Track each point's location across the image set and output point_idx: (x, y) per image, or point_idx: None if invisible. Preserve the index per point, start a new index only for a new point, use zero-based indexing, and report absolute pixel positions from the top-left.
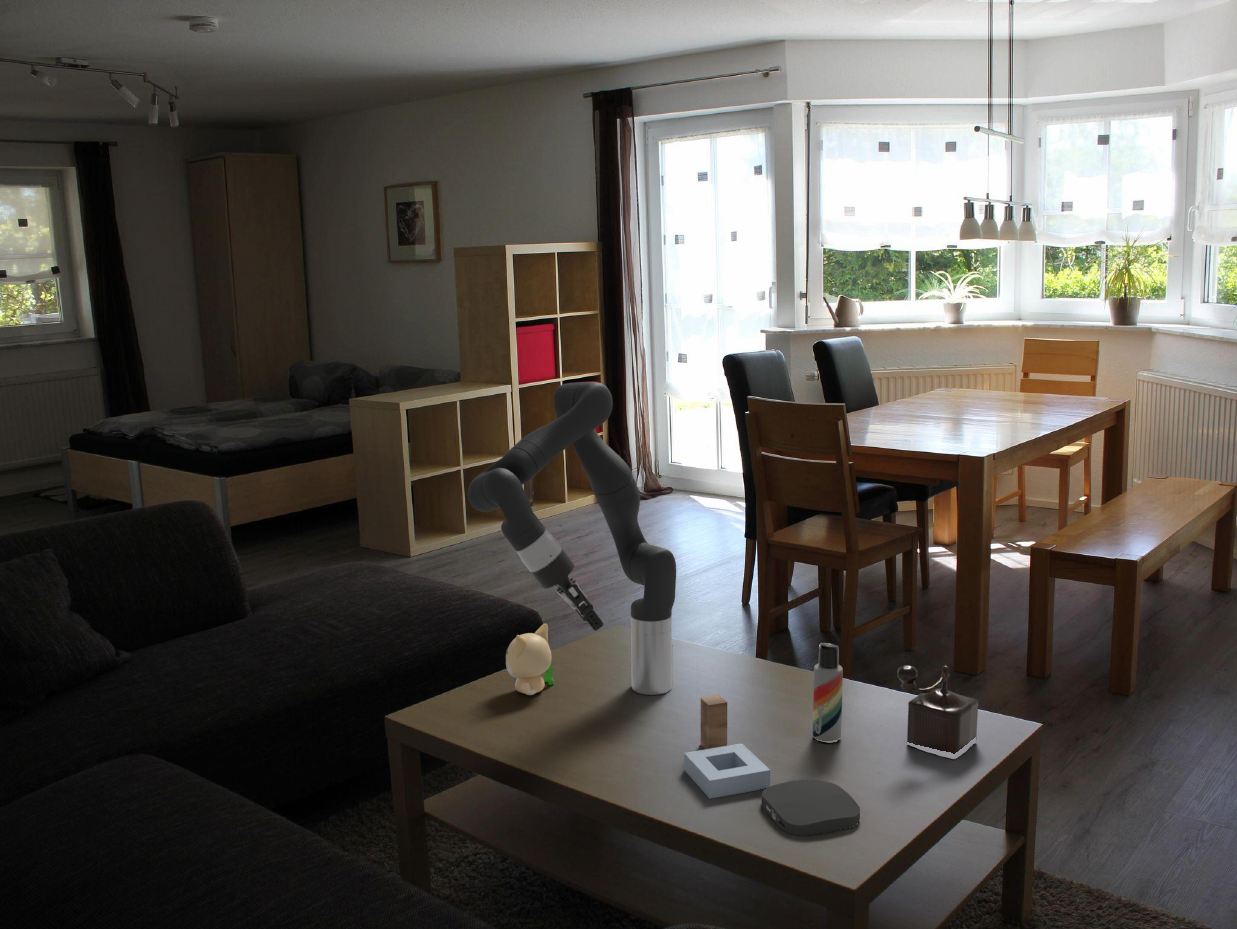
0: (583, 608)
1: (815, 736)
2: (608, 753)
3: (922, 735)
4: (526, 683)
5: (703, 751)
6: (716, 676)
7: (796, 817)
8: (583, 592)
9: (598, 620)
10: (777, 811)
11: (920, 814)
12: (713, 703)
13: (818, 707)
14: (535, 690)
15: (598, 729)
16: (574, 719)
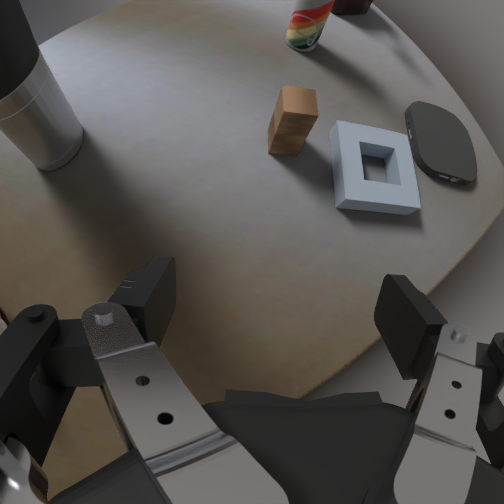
0: (495, 394)
1: (304, 48)
2: (245, 290)
3: (350, 4)
4: None
5: (347, 173)
6: (79, 65)
7: (469, 169)
8: (479, 393)
9: (428, 302)
10: (462, 177)
11: (443, 84)
12: (314, 107)
13: (318, 23)
14: (2, 321)
15: None
16: (99, 296)
